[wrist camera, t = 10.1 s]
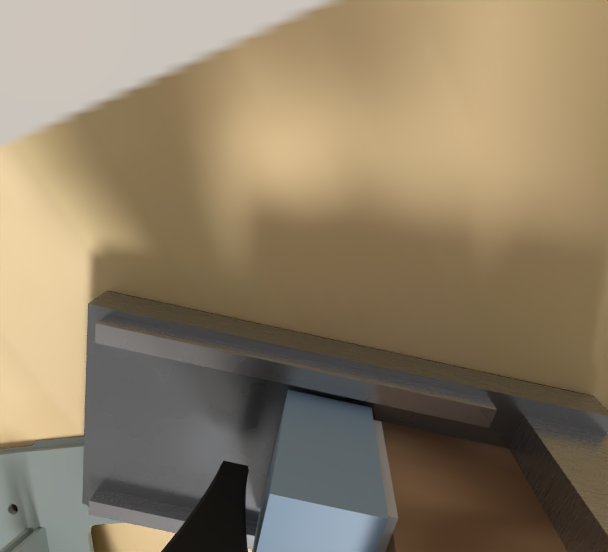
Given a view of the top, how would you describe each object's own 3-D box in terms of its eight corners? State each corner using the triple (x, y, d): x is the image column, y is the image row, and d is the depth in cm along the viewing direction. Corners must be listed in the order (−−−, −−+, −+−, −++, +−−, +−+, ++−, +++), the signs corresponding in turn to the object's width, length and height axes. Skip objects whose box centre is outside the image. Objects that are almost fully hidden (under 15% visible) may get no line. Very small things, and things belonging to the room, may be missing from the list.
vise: (593, 396, 12) (749, 548, 8) (502, 566, 15) (580, 758, 10) (107, 290, 12) (-28, 382, 8) (98, 480, 15) (-8, 634, 10)
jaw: (382, 409, 11) (402, 521, 8) (339, 541, 13) (341, 678, 10) (287, 389, 11) (269, 494, 8) (257, 523, 13) (231, 655, 10)
